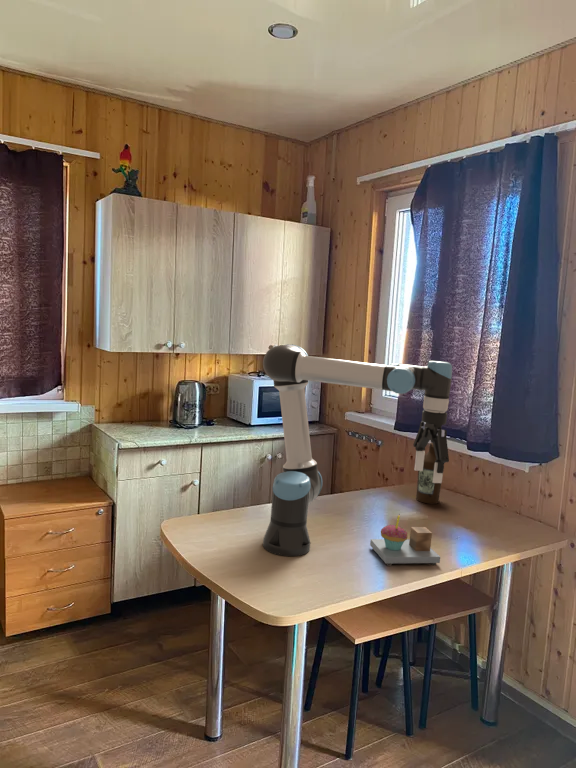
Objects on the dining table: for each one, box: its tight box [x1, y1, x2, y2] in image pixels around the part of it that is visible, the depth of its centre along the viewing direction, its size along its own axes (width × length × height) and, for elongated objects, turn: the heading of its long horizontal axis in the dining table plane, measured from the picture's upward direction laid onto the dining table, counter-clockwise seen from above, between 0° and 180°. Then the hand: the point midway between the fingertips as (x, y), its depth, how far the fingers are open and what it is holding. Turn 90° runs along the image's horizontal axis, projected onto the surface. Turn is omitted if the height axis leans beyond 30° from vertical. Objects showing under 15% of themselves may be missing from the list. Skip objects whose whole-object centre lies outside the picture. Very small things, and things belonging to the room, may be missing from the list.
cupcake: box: [380, 513, 408, 551], centre depth 186 cm, size 9×8×12 cm
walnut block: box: [409, 526, 433, 551], centre depth 188 cm, size 5×5×6 cm
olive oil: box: [415, 442, 445, 505], centre depth 249 cm, size 11×11×25 cm
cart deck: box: [369, 538, 441, 567], centre depth 187 cm, size 18×14×3 cm
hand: (427, 476), depth 186 cm, fingers open, 13 cm apart
